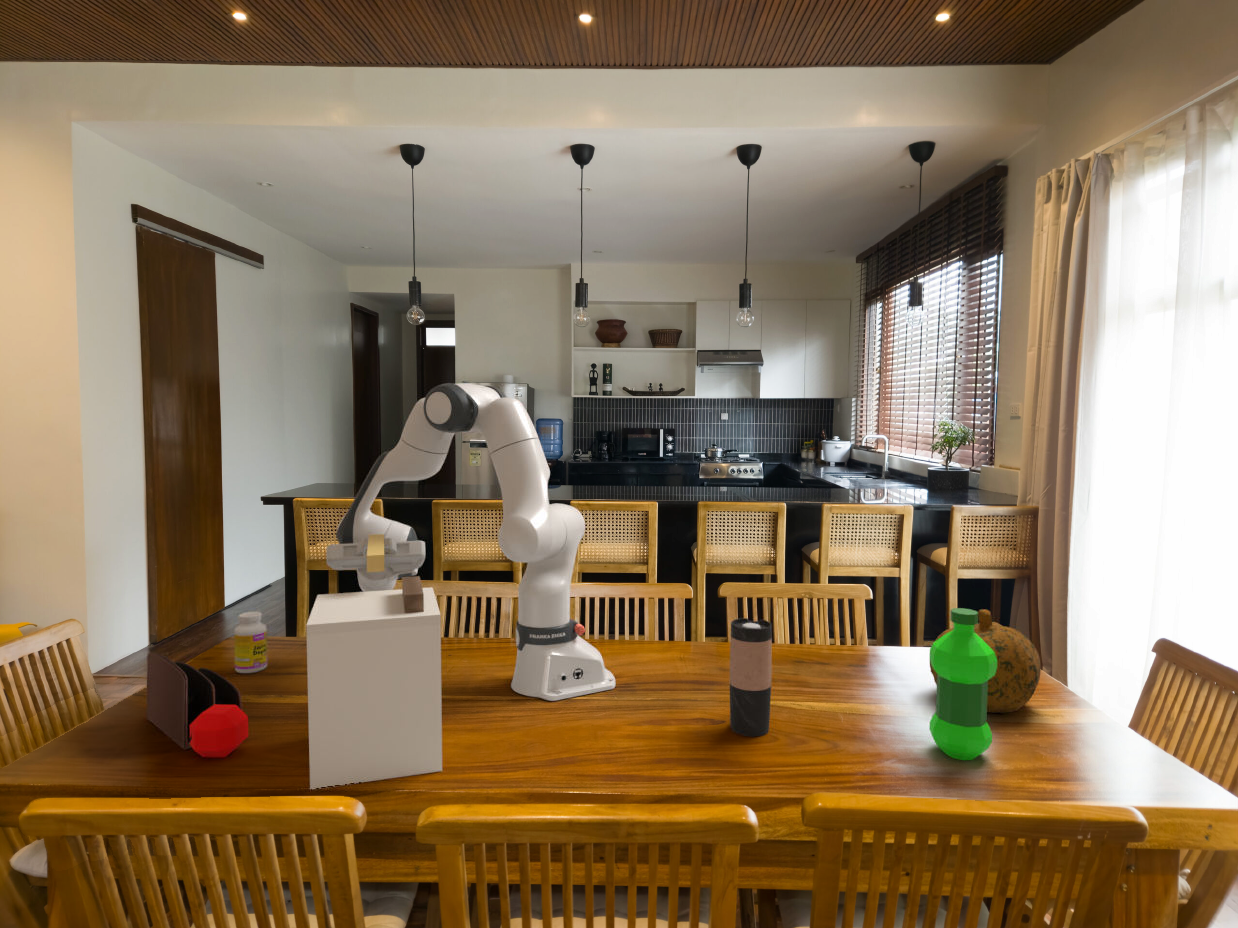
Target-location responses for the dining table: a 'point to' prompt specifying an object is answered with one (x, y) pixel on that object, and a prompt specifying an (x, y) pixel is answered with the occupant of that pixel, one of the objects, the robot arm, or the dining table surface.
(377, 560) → the ochre bar
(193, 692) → the letter holder
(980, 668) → the plastic bottle
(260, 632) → the supplement bottle
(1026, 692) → the decorative pumpkin
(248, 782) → the dining table surface
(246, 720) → the ball
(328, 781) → the off-white stand
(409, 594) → the walnut bar
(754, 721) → the travel mug
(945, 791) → the dining table surface
